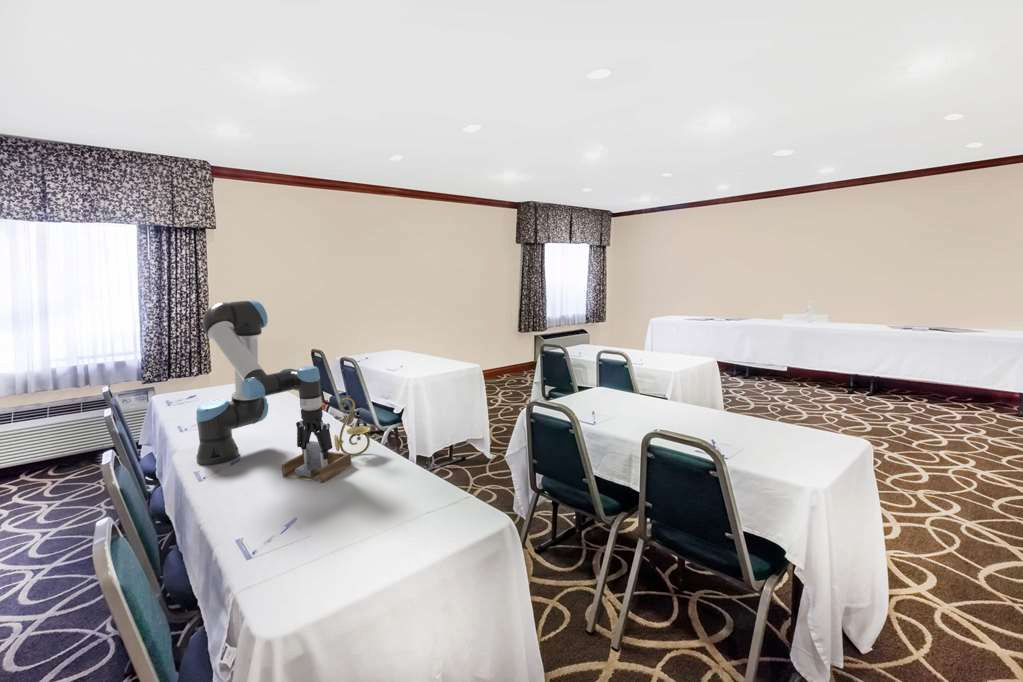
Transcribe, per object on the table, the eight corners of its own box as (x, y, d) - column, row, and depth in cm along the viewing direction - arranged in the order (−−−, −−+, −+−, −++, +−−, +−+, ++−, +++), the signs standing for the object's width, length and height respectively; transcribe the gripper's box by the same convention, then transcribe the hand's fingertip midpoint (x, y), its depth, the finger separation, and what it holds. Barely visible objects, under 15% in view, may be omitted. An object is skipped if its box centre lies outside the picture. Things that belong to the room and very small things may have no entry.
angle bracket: (312, 465, 194) (310, 440, 192) (327, 467, 191) (325, 442, 190) (295, 475, 185) (293, 449, 184) (311, 477, 183) (308, 451, 181)
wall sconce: (340, 463, 199) (335, 402, 195) (335, 455, 207) (330, 397, 203) (374, 455, 206) (370, 397, 202) (368, 448, 214) (364, 392, 210)
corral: (282, 477, 187) (281, 464, 186) (313, 460, 202) (312, 448, 201) (323, 483, 181) (322, 470, 180) (351, 465, 196) (350, 453, 195)
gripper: (282, 408, 187) (288, 466, 190) (326, 412, 180) (331, 472, 184) (297, 403, 194) (302, 459, 197) (340, 407, 187) (344, 465, 191)
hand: (316, 465), depth 190 cm, fingers closed on angle bracket, 7 cm apart
